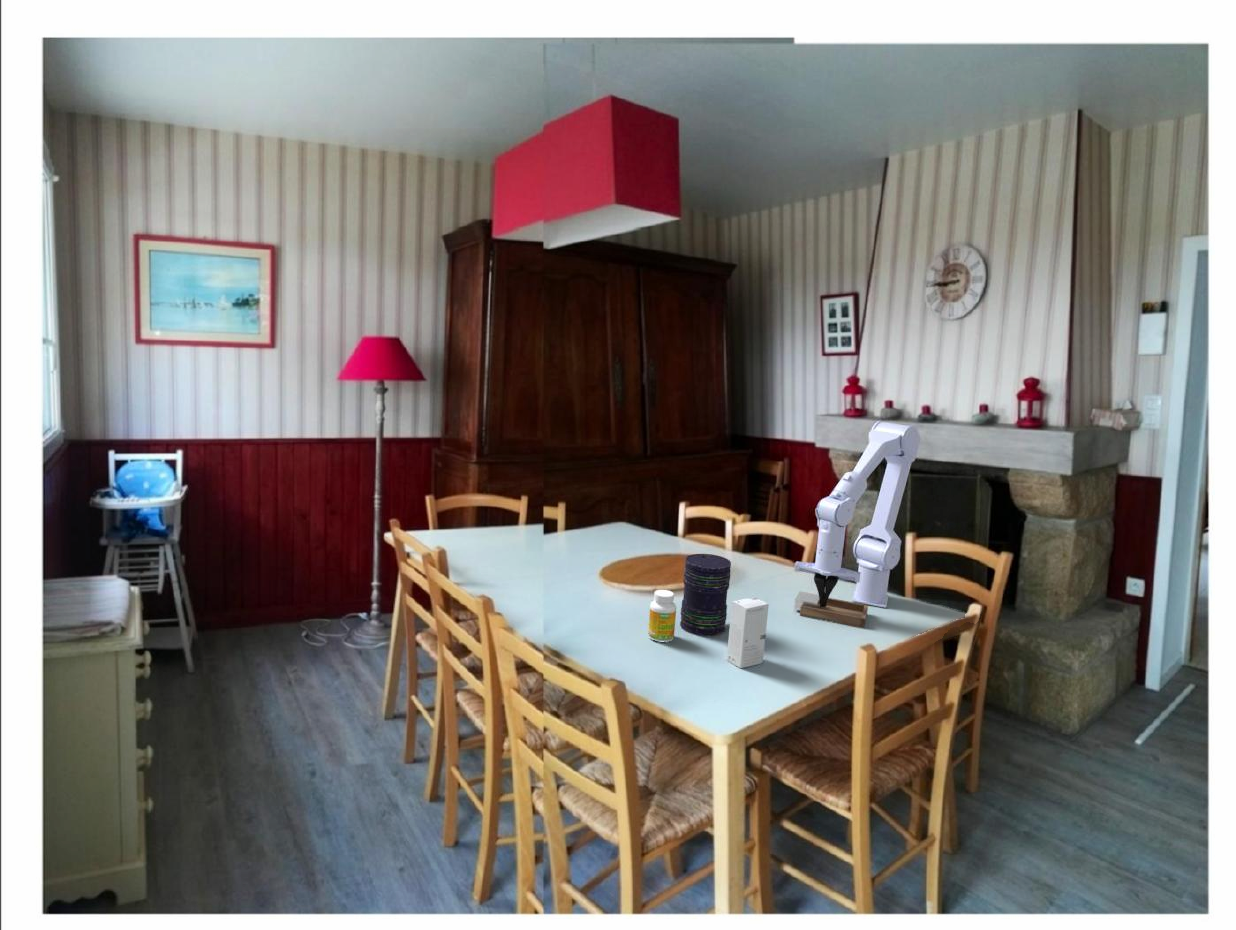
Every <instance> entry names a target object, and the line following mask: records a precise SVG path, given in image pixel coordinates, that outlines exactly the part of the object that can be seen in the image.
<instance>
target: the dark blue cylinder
mask: <svg viewBox="0 0 1236 930" xmlns="http://www.w3.org/2000/svg"><path fill="white" fill-rule="evenodd" d="M684 562H685V564H684V570H683V587H684V588H683V599H682V601H681V607H680V619H681V620H680V622H679V626H681V627H680V629H682V630H683V631H684V632H687V633H688V634H691V635H695V636H699V637H716V636H719V635H722V634H723V633H725V631H726V625H725V624H726V621H727V617H728V613H727V610H728V604H727V598H728V590H729V588H730V581H731V567H732V562H731V560H730V559H728V558H726V557H724V556H721V555H718V554H717V555H716V554H710V553H693V554H690V555H687V556H686V557H685V561H684Z"/></svg>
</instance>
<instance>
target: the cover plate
mask: <svg viewBox="0 0 1236 930" xmlns="http://www.w3.org/2000/svg"><path fill="white" fill-rule="evenodd" d="M801 605H802V606H807V607H812V608H817V609H819V606H820V600H819V594H815V593H810V592H806V591H805V592H804V591H799V592H798V593H797V596H796V597H795V599H794V608H793V609H794V610H795V611H800V609H801Z"/></svg>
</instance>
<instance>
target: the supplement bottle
mask: <svg viewBox="0 0 1236 930" xmlns="http://www.w3.org/2000/svg"><path fill="white" fill-rule="evenodd" d="M674 599H675V593H674V592H673V591H671V590H667V589H657V590H655V591H654V595H653V601H651V603H650V605H649V614H648V615H649V617H648V629H647V630H648V631H647V635H648V634H649V636H650V637H651V638H652V639H654V640H656V641H664V642H666V643H670V642H672V641H673V640H674V638H675V630H676V629H675V628H676V617H677V605H676V603H675V602H674ZM669 641H670V642H669Z"/></svg>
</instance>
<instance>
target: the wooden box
mask: <svg viewBox="0 0 1236 930" xmlns="http://www.w3.org/2000/svg"><path fill="white" fill-rule="evenodd" d="M868 610H869V605H868V604H863V603H857V602H853V601H849V600H848V601H847V600H843V599H837V598H832V597H829V598H828V600H827V605H826V607H820V606H819V609H817V608H812V607H807V606H802V605H801V609H800V610H799V616H800V617H806V618H810V619H815V618H818V619H817V620H820V619H822V620H821V621H825V620H827V621H826V622H830V621H833V622H832V623H835V622H837V623H836V624H840V625H844V626H851V627H856V628H861V629H865V626H866V621H867V616H868Z"/></svg>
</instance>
